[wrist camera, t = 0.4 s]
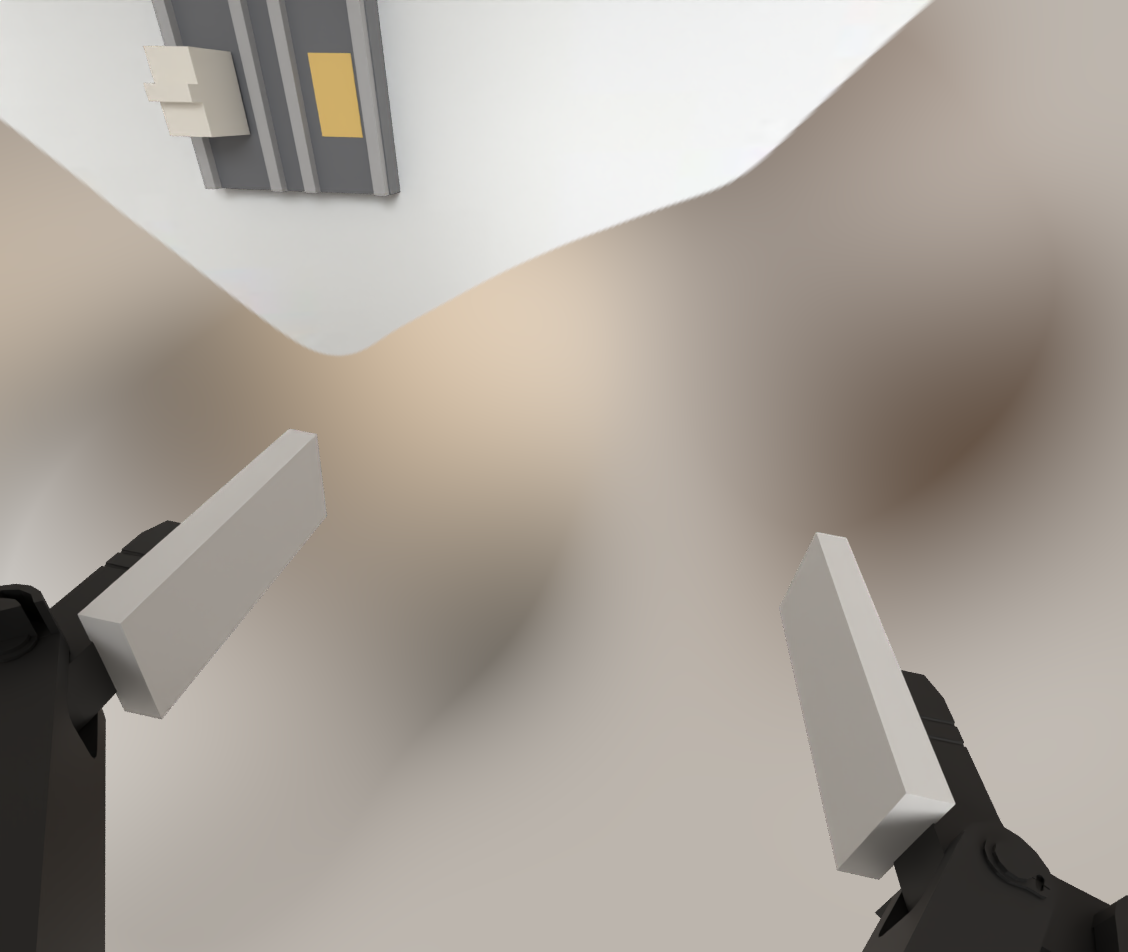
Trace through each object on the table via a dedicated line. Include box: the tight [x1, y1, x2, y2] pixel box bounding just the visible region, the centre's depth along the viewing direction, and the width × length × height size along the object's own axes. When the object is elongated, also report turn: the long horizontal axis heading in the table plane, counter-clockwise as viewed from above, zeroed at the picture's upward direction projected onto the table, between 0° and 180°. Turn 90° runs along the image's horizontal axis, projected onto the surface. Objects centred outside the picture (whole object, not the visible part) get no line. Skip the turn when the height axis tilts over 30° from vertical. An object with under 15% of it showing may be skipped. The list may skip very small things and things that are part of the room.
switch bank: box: [152, 0, 400, 196], centre depth 32 cm, size 18×12×2 cm, turn 179°
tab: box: [143, 46, 250, 137], centre depth 32 cm, size 4×2×4 cm, turn 179°
